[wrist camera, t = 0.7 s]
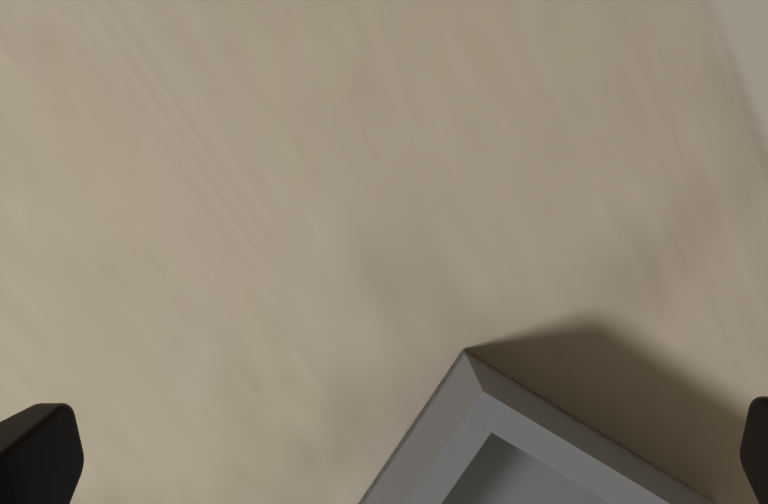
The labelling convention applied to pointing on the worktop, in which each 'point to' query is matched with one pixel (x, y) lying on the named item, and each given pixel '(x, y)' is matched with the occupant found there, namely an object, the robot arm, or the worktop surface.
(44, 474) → the robot arm
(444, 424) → the bin
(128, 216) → the worktop surface
